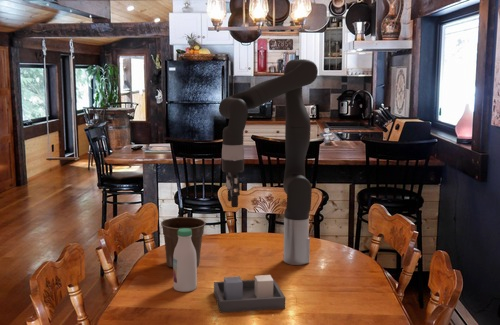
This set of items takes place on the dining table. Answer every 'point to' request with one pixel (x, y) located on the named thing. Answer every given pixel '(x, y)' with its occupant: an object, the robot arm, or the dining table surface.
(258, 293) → the cream block
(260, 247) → the dining table surface
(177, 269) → the milk bottle
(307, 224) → the robot arm
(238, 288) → the slate blue block
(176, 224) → the plant pot
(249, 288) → the dark grey tray
